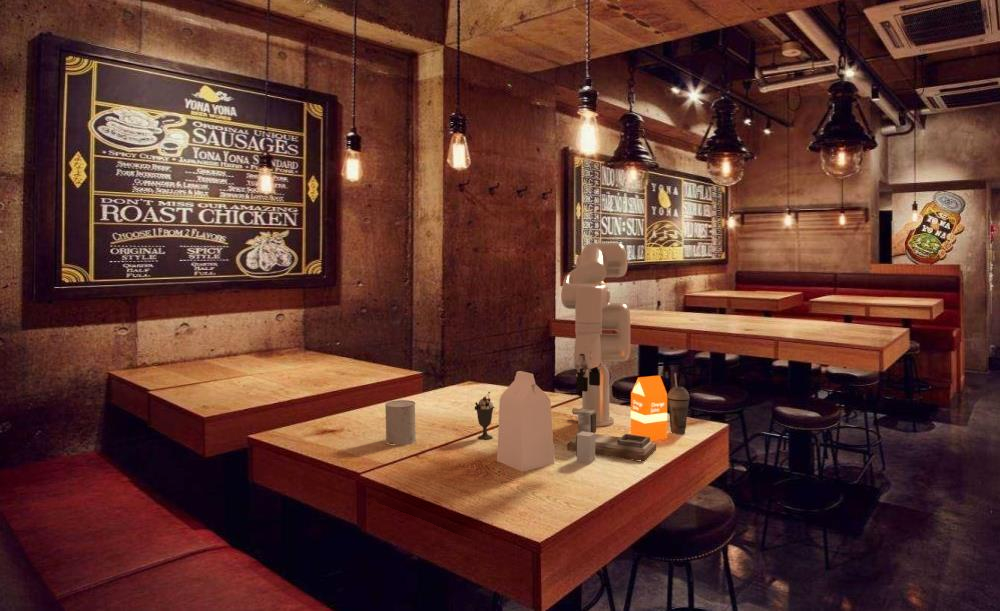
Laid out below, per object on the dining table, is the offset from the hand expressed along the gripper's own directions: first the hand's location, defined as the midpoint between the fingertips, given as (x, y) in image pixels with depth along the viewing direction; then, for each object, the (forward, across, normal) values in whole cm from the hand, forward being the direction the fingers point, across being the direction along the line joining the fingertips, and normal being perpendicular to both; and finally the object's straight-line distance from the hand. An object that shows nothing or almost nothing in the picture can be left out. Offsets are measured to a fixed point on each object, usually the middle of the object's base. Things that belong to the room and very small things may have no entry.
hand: (588, 388), depth 182 cm
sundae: (+21, -7, -38) cm, 44 cm away
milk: (+21, +9, -16) cm, 28 cm away
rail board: (+21, -12, +3) cm, 25 cm away
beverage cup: (+21, -41, +16) cm, 49 cm away
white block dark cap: (+21, 0, 0) cm, 21 cm away
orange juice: (+21, -31, +9) cm, 39 cm away
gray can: (+21, +9, -60) cm, 65 cm away
